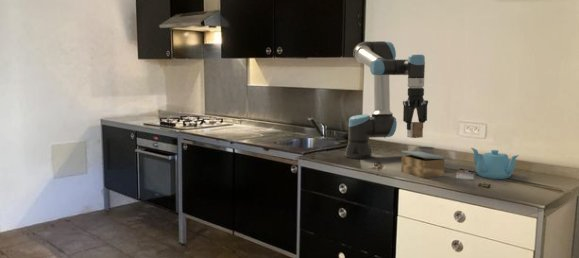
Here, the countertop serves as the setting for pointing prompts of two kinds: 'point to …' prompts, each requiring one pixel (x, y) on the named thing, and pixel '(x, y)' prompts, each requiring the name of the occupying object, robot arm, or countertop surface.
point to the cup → (427, 150)
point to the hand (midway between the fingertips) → (414, 136)
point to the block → (417, 130)
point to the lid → (423, 154)
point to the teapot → (494, 165)
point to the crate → (422, 166)
